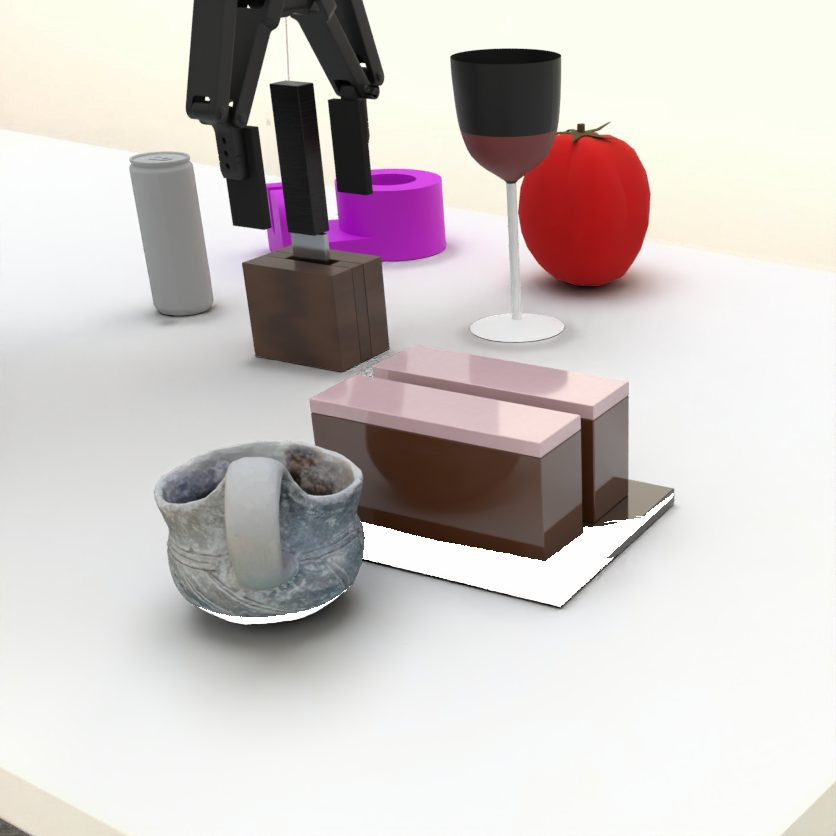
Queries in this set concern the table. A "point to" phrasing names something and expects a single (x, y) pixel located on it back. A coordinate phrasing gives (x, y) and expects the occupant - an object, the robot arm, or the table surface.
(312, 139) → the knife
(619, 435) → the cake
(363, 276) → the knife block
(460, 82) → the wineglass
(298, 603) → the mug
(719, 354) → the table surface
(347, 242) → the tape dispenser
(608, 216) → the tomato
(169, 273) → the beverage can
